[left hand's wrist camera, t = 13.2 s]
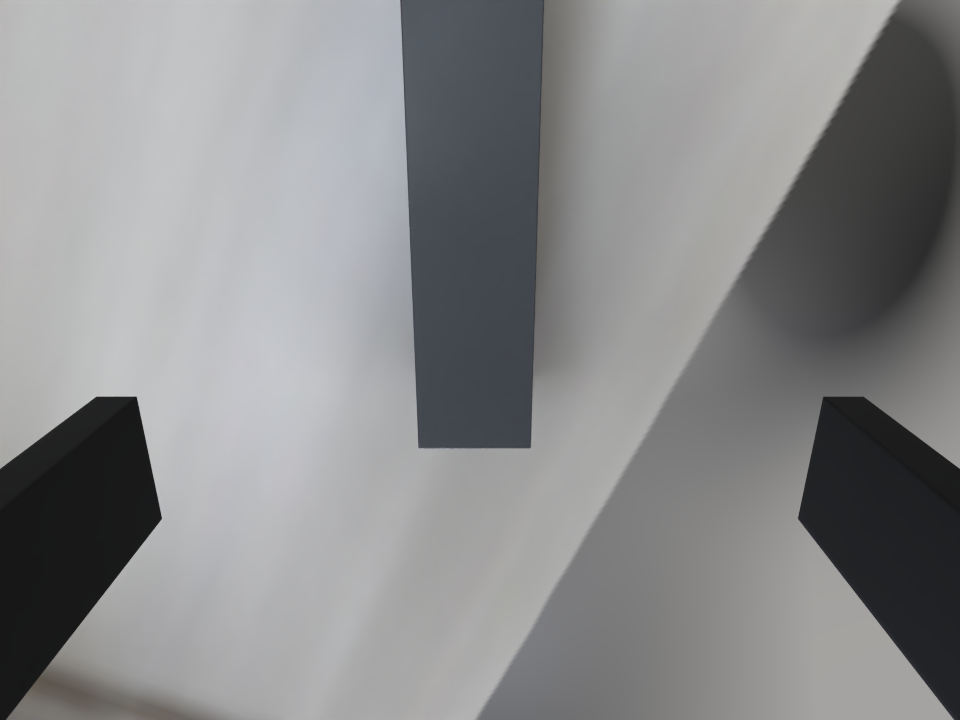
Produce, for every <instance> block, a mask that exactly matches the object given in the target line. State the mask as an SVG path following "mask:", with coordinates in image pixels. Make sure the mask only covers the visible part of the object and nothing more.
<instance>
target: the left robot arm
mask: <svg viewBox="0 0 960 720" xmlns="http://www.w3.org/2000/svg"><path fill="white" fill-rule="evenodd" d="M161 519H162V516H161V512H160V507H159V502H158V497H157V492H156V488H155V483H154V478H153V473H152V468H151V464H150V459H149V454H148V449H147V444H146V440H145V435H144V430H143V425H142V420H141V416H140V411H139V406H138V401H137V397H96V398H94V399H93V400H92V401H90V402H89V403H88V404H86V405H85V406H84V407H82V408H81V409H80V410H78V411H77V412H76V413H74V414H73V415H72V416H70V417H69V418H68V419H66V420H65V421H64V422H62V423H61V424H60V425H58V426H57V427H56V428H54V429H53V430H52V431H50V432H49V433H48V434H46V435H45V436H44V437H42V438H41V439H40V440H38V441H37V442H36V443H34V444H33V445H32V446H30V447H29V448H28V449H26V450H25V451H24V452H22V453H21V454H20V455H18V456H17V457H16V458H14V459H13V460H12V461H10V462H9V463H8V464H6V465H5V466H4V467H2V468H1V469H0V720H6V719H7V718H8V716H9V715H10V714H11V712H12V711H13V710H14V709H15V707H16V706H17V705H18V703H19V702H20V701H21V700H22V698H23V697H24V696H25V694H26V693H27V692H28V691H29V689H30V688H31V687H32V685H33V684H34V683H35V682H36V680H37V679H38V678H39V676H40V675H41V674H42V673H43V671H44V670H45V669H46V667H47V666H48V665H49V664H50V662H51V661H52V660H53V658H54V657H55V656H56V655H57V653H58V652H59V651H60V649H61V648H62V647H63V645H64V644H65V643H66V642H67V640H68V639H69V638H70V636H71V635H72V634H73V633H74V631H75V630H76V629H77V627H78V626H79V625H80V624H81V622H82V621H83V620H84V618H85V617H86V616H87V615H88V613H89V612H90V611H91V609H92V608H93V607H94V606H95V604H96V603H97V602H98V600H99V599H100V598H101V597H102V595H103V594H104V593H105V591H106V590H107V589H108V588H109V586H110V585H111V584H112V582H113V581H114V580H115V579H116V577H117V576H118V575H119V573H120V572H121V571H122V570H123V568H124V567H125V566H126V564H127V563H128V562H129V561H130V559H131V558H132V557H133V555H134V554H135V553H136V552H137V550H138V549H139V548H140V546H141V545H142V544H143V543H144V541H145V540H146V539H147V537H148V536H149V535H150V533H151V532H152V531H153V530H154V528H155V527H156V526H157V524H158V523H159V522H160V521H161ZM798 519H799V521H800V522H801V523H802V524H803V526H804V527H805V528H806V530H807V531H808V532H809V533H810V535H811V536H812V537H813V539H814V540H815V541H816V542H817V544H818V545H819V546H820V548H821V549H822V550H823V551H824V553H825V554H826V555H827V557H828V558H829V559H830V561H831V562H832V563H833V564H834V566H835V567H836V568H837V569H838V571H839V572H840V573H841V575H842V576H843V577H844V579H845V580H846V581H847V582H848V584H849V585H850V586H851V587H852V589H853V590H854V591H855V593H856V594H857V595H858V597H859V598H860V599H861V600H862V602H863V603H864V604H865V606H866V607H867V608H868V609H869V611H870V612H871V613H872V615H873V616H874V617H875V618H876V620H877V621H878V622H879V624H880V625H881V626H882V627H883V629H884V630H885V631H886V633H887V634H888V635H889V636H890V638H891V639H892V640H893V642H894V643H895V644H896V645H897V647H898V648H899V649H900V651H901V652H902V653H903V655H904V656H905V657H906V658H907V660H908V661H909V662H910V664H911V665H912V666H913V667H914V669H915V670H916V671H917V673H918V674H919V675H920V676H921V678H922V679H923V680H924V682H925V683H926V684H927V685H928V687H929V688H930V689H931V690H932V692H933V693H934V694H935V696H936V697H937V698H938V700H939V701H940V702H941V703H942V705H943V706H944V707H945V709H946V710H947V711H948V712H949V714H950V715H951V716H952V718H953V719H954V720H960V469H959V468H958V467H956V466H955V465H954V464H952V463H951V462H950V461H948V460H947V459H946V458H944V457H943V456H942V455H940V454H939V453H938V452H936V451H935V450H934V449H932V448H931V447H930V446H928V445H927V444H926V443H924V442H923V441H922V440H920V439H919V438H918V437H916V436H915V435H914V434H912V433H911V432H910V431H908V430H907V429H906V428H904V427H903V426H902V425H900V424H899V423H898V422H896V421H895V420H894V419H892V418H891V417H890V416H888V415H887V414H886V413H884V412H883V411H882V410H880V409H879V408H878V407H876V406H875V405H874V404H872V403H871V402H870V401H868V400H867V399H866V398H864V397H823V401H822V406H821V411H820V416H819V420H818V425H817V430H816V435H815V440H814V444H813V449H812V454H811V459H810V464H809V468H808V473H807V478H806V483H805V488H804V492H803V497H802V502H801V507H800V512H799V516H798Z"/></svg>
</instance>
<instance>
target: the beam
mask: <svg viewBox="0 0 960 720" xmlns="http://www.w3.org/2000/svg"><path fill="white" fill-rule="evenodd" d="M400 1H401V26H402V50H403V75H404V100H405V125H406V149H407V174H408V199H409V223H410V248H411V273H412V298H413V322H414V347H415V372H416V397H417V421H418V446H419V448H530V447H531V420H532V386H533V352H534V319H535V285H536V251H537V217H538V183H539V149H540V116H541V82H542V48H543V14H544V0H400Z"/></svg>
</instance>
